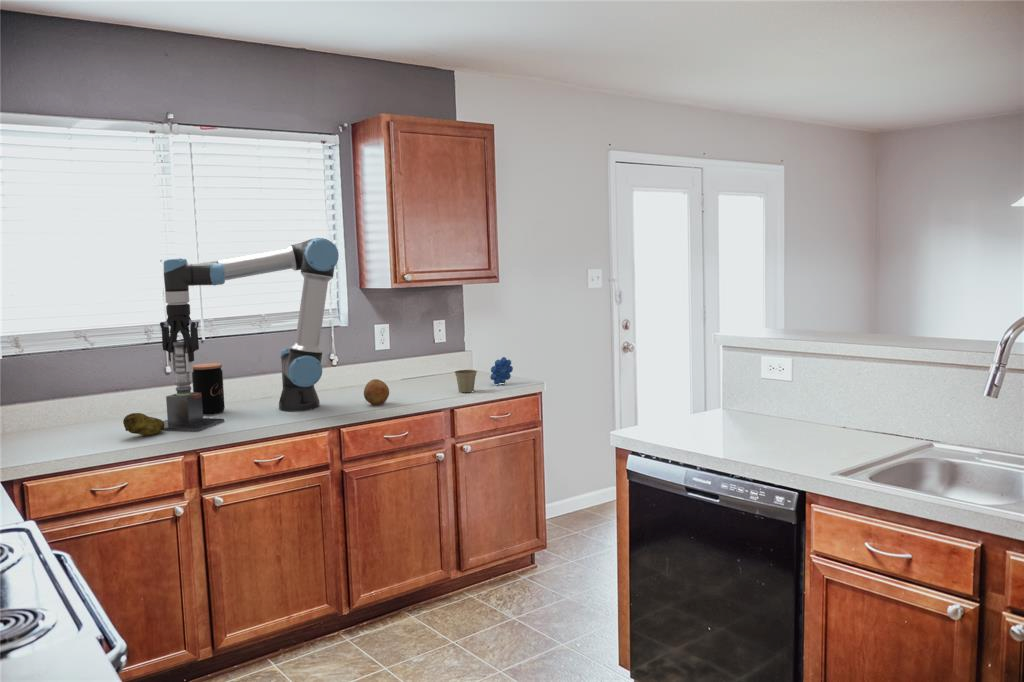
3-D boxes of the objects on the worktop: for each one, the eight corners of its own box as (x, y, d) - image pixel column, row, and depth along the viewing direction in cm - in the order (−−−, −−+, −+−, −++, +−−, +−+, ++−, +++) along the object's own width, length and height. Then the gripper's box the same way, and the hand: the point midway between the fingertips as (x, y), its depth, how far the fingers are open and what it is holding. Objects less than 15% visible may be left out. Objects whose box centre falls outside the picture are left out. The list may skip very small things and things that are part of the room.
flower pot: (475, 394, 331) (474, 373, 330) (452, 393, 333) (452, 373, 332) (479, 390, 340) (479, 369, 339) (457, 389, 342) (457, 369, 341)
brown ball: (395, 403, 314) (394, 378, 313) (377, 408, 306) (376, 382, 305) (376, 401, 319) (375, 376, 318) (358, 405, 311) (357, 380, 310)
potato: (168, 434, 268) (167, 411, 267) (126, 440, 260) (124, 416, 259) (163, 430, 274) (161, 407, 273) (121, 436, 267) (120, 412, 266)
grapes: (507, 381, 360) (506, 355, 359) (516, 383, 354) (515, 356, 353) (485, 384, 353) (484, 357, 352) (494, 386, 348) (493, 359, 346)
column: (195, 403, 282) (191, 340, 280) (186, 406, 278) (182, 342, 275) (182, 403, 284) (178, 340, 281) (173, 406, 279) (169, 342, 276)
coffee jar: (214, 415, 298) (211, 367, 295) (188, 415, 300) (185, 367, 298) (230, 409, 308) (227, 363, 306) (205, 409, 310) (202, 362, 308)
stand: (224, 421, 287) (222, 390, 286) (197, 431, 271) (195, 398, 270) (174, 419, 291) (172, 389, 290) (145, 429, 276) (143, 397, 275)
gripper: (207, 302, 278) (212, 369, 281) (161, 303, 282) (166, 369, 285) (194, 304, 271) (199, 373, 274) (147, 304, 275) (152, 372, 277)
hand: (182, 370), depth 279 cm, fingers closed on column, 5 cm apart
